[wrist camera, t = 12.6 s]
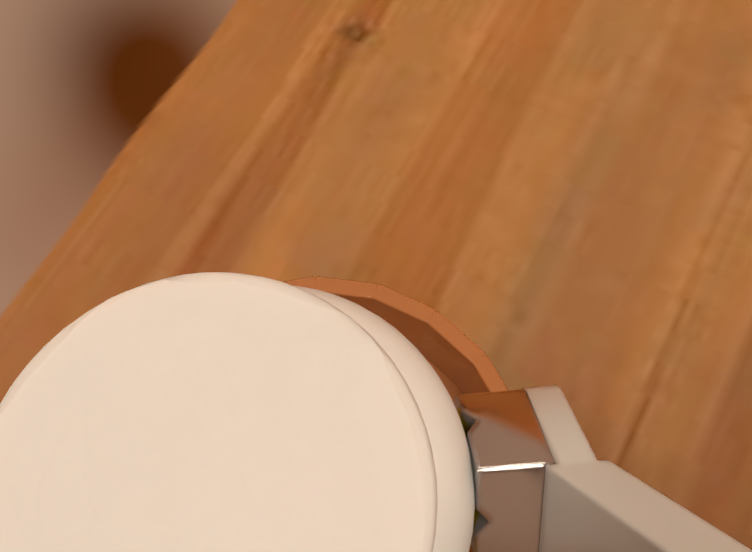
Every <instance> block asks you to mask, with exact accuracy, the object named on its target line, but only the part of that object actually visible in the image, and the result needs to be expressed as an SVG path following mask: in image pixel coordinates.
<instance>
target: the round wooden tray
mask: <svg viewBox="0 0 752 552" xmlns="http://www.w3.org/2000/svg"><path fill="white" fill-rule="evenodd" d="M284 283H287V284H289V285H292V286H301V287H306V288H312V289H317V290H321V291H324V292H328V293H331V294H334V295H337V296H339V297H342V298H344V299H347V300H349V301H352V302H354V303H356V304H358V305H360V306H362V307H363V308H365V309H367V310H369V311H370V312H372V313H374V314H376V315H378V316H379V317H381V318H382V319H384V320H385V321H386V322H388V323H389V324H391V325H392V326H393V327H395V328H396V329H397V330H398V331H399V332H400V333H401V334H402V335H404V336H405V337H406V338H407V339H408V340H409V341H410V342H411V343H412V344H413V345H414V346H415V347H416V348H417V349H418V350H419V351H420V353H421V354H422V355H423V356H424V357H425V359H426V360H427V361H428V362H429V364H430V365H431V366H432V367H433V369H434V370H435V372H436V373H437V375H438V376H439V378H440V379H441V381H442V383H443V384H444V386H445V388H446V390H447V391H448V393H449V395H450V396H451V399H452V401H453V403H454V398H455V395H461V394H473V393H484V392H496V391H508V389H507V387H506V386H505V384H504V383H503V381H502V379H501V378H500V376H499V374H498V373H497V371H496V369H495V368H494V366H493V364H492V363H491V361H490V359H489V358H488V356H487V355H485V353H484V352H483V351H482V350H481V349H480V348H479V347H478V346H477V345H476V344H474V343H473V342H472V341H471V340H470V339H469V338H468V337H467V336H465V335H464V334H463V333H462V332H461V331H460V330H459V329H458V328H456V327H455V326H454V325H453V324H452V323H451V322H450V321H449V320H447V319H446V318H445V317H444V316H443V315H442V314H441V313H440V312H438V311H436V310H435V309H433V308H431V307H429V306H427V305H424V304H422V303H420V302H418V301H416V300H413V299H411V298H409V297H407V296H405V295H402V294H400V293H398V292H396V291H393V290H391V289H389V288H387V287H385V286H382V285H380V284H379V285H378V284H376V283H369V282H361V281H353V280H344V279H336V278H328V277H320V276H316V277H314V276H312V277H306V278H301V279H295V280H290V281H284ZM469 552H471V547H470V549H469Z"/></svg>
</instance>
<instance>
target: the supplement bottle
mask: <svg viewBox="0 0 752 552" xmlns="http://www.w3.org/2000/svg"><path fill="white" fill-rule="evenodd" d="M474 511H475V492H474V478H473V468H472V462H471V456H470V451H469V446H468V442H467V439H466V436H465V432H464V429H463V426H462V423H461V420H460V417H459V415H458V412H457V410H456V408H455V406H454V403H453V401H452V399H451V396H450V395H449V393H448V391H447V390H446V388H445V386H444V384H443V383H442V381H441V379H440V378H439V376H438V375H437V373H436V372H435V370H434V369H433V367H432V366H431V365H430V364H429V362H428V361H427V360H426V359H425V357H424V356H423V355H422V354H421V353H420V351H419V350H418V349H417V348H416V347H415V346H414V345H413V344H412V343H411V342H410V341H409V340H408V339H407V338H406V337H405V336H404V335H402V334H401V333H400V332H399V331H398V330H397V329H396V328H395V327H393V326H392V325H391V324H389V323H388V322H386V321H385V320H384V319H382V318H381V317H379V316H378V315H376V314H374V313H372V312H370V311H369V310H367V309H365V308H363V307H362V306H360V305H358V304H356V303H354V302H352V301H349V300H347V299H344V298H342V297H339V296H337V295H334V294H331V293H328V292H324V291H321V290H317V289H312V288H306V287H301V286H292V285H289V284H287V283H284V282H281V281H277V280H273V279H270V278H266V277H261V276H254V275H247V274H240V273H226V272H205V273H193V274H184V275H179V276H174V277H170V278H165V279H161V280H157V281H153V282H150V283H146V284H144V285H141V286H139V287H136V288H133V289H131V290H128V291H126V292H123V293H121V294H119V295H116V296H114V297H112V298H110V299H108V300H106V301H105V302H103V303H101V304H99V305H98V306H96V307H94V308H93V309H91V310H89V311H88V312H86V313H85V314H84V315H82V316H81V317H79V318H78V319H77V320H75V321H74V322H72V323H71V324H70V325H68V326H67V327H65V328H64V329H63V330H62V331H61V332H59V333H58V334H57V335H56V336H55V337H54V338H53V339H52V340H51V341H49V342H48V343H47V344H46V345H45V346H44V347H43V348H42V349H41V350H40V351H39V352H38V353H37V354H36V355H35V357H34V358H33V359H32V360H31V361H30V362H29V363H28V364H27V366H26V367H25V368H24V370H23V371H22V372H21V373H20V375H19V376H18V377H17V378H16V380H15V381H14V383H13V384H12V385H11V387H10V388H9V390H8V392H7V393H6V395H5V397H4V399H3V400H2V402H1V404H0V552H469V549H470V544H471V538H472V533H473V524H474Z"/></svg>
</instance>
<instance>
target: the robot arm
mask: <svg viewBox="0 0 752 552" xmlns="http://www.w3.org/2000/svg"><path fill="white" fill-rule="evenodd" d="M454 406H455V408H456V410H457V412H458V415H459V417H460V420H461V423H462V426H463V429H464V432H465V436H466V439H467V442H468V446H469V451H470V456H471V462H472V468H473V478H474V492H475V511H474V524H473V533H472V538H471V544H470V547H471V552H752V550H751V549H750V548H748V547H746V546H745V545H743V544H742V543H740V542H738V541H737V540H735V539H734V538H732V537H730V536H729V535H727V534H726V533H724V532H722V531H721V530H719V529H718V528H716V527H714V526H713V525H711V524H710V523H708V522H706V521H705V520H703V519H702V518H700V517H698V516H697V515H695V514H694V513H692V512H690V511H689V510H687V509H686V508H684V507H682V506H681V505H679V504H678V503H676V502H674V501H673V500H671V499H670V498H668V497H666V496H665V495H663V494H662V493H660V492H658V491H657V490H655V489H654V488H652V487H650V486H649V485H647V484H646V483H644V482H643V481H641V480H639V479H638V478H636V477H635V476H633V475H631V474H630V473H628V472H627V471H625V470H623V469H622V468H620V467H619V466H617V465H615V464H614V463H612V462H611V461H609V460H604V461H598V460H597V458H596V456H595V454H594V452H593V450H592V448H591V446H590V444H589V442H588V440H587V438H586V436H585V434H584V433H583V431H582V429H581V427H580V425H579V423H578V421H577V419H576V417H575V415H574V413H573V411H572V409H571V407H570V405H569V403H568V401H567V399H566V397H565V395H564V393H563V391H562V389H561V388H560V387H559V386H557V385H547V386H538V387H529V388H522V389H520V390H508V391H496V392H484V393H473V394H461V395H455V398H454Z"/></svg>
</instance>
